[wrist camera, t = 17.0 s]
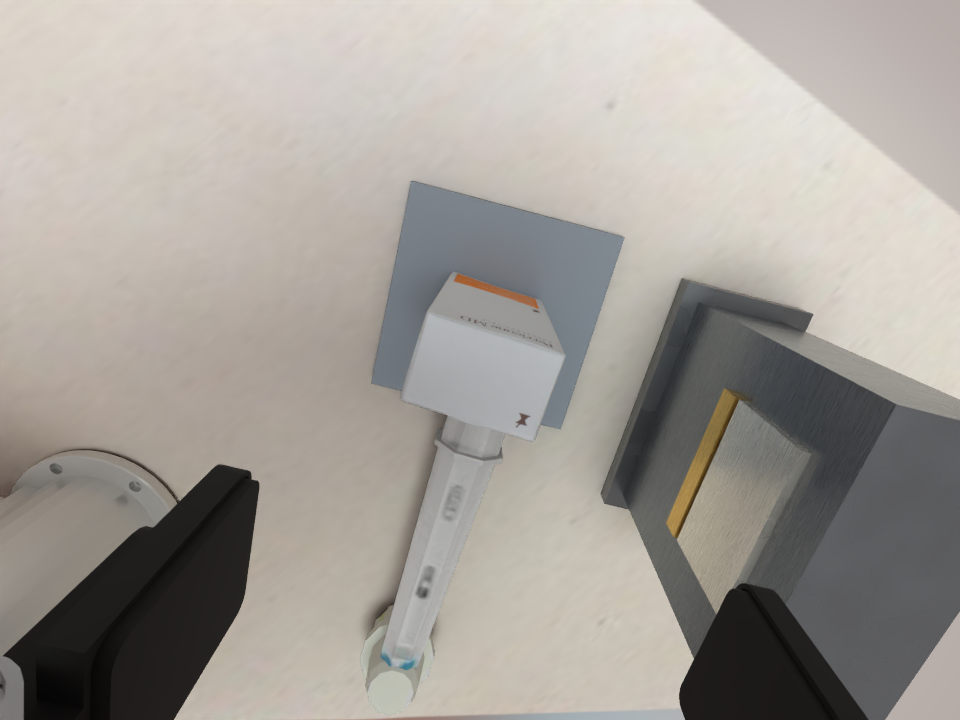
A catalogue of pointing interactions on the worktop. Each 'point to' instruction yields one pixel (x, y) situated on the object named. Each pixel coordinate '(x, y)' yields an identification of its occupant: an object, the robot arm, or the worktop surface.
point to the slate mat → (495, 275)
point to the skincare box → (485, 358)
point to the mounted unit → (796, 486)
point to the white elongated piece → (429, 565)
